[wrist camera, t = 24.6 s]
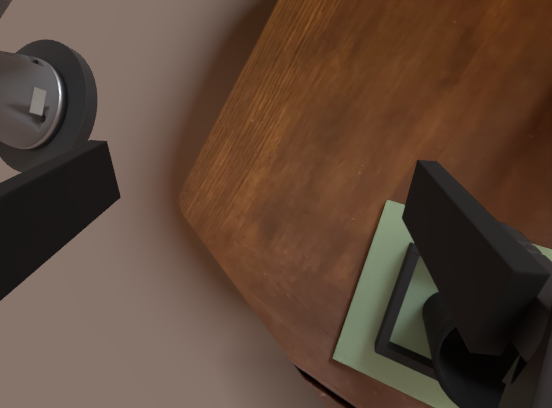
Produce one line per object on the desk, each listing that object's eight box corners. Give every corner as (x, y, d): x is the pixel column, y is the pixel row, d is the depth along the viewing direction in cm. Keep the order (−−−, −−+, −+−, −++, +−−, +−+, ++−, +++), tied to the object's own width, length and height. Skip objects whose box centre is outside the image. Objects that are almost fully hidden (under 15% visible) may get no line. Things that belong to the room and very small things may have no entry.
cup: (450, 367, 33) (494, 447, 21) (396, 311, 34) (409, 356, 23) (509, 321, 31) (590, 381, 20) (450, 265, 33) (492, 290, 22)
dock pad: (520, 445, 31) (536, 470, 28) (332, 355, 37) (329, 368, 34) (590, 261, 30) (615, 266, 27) (386, 200, 36) (388, 198, 33)
